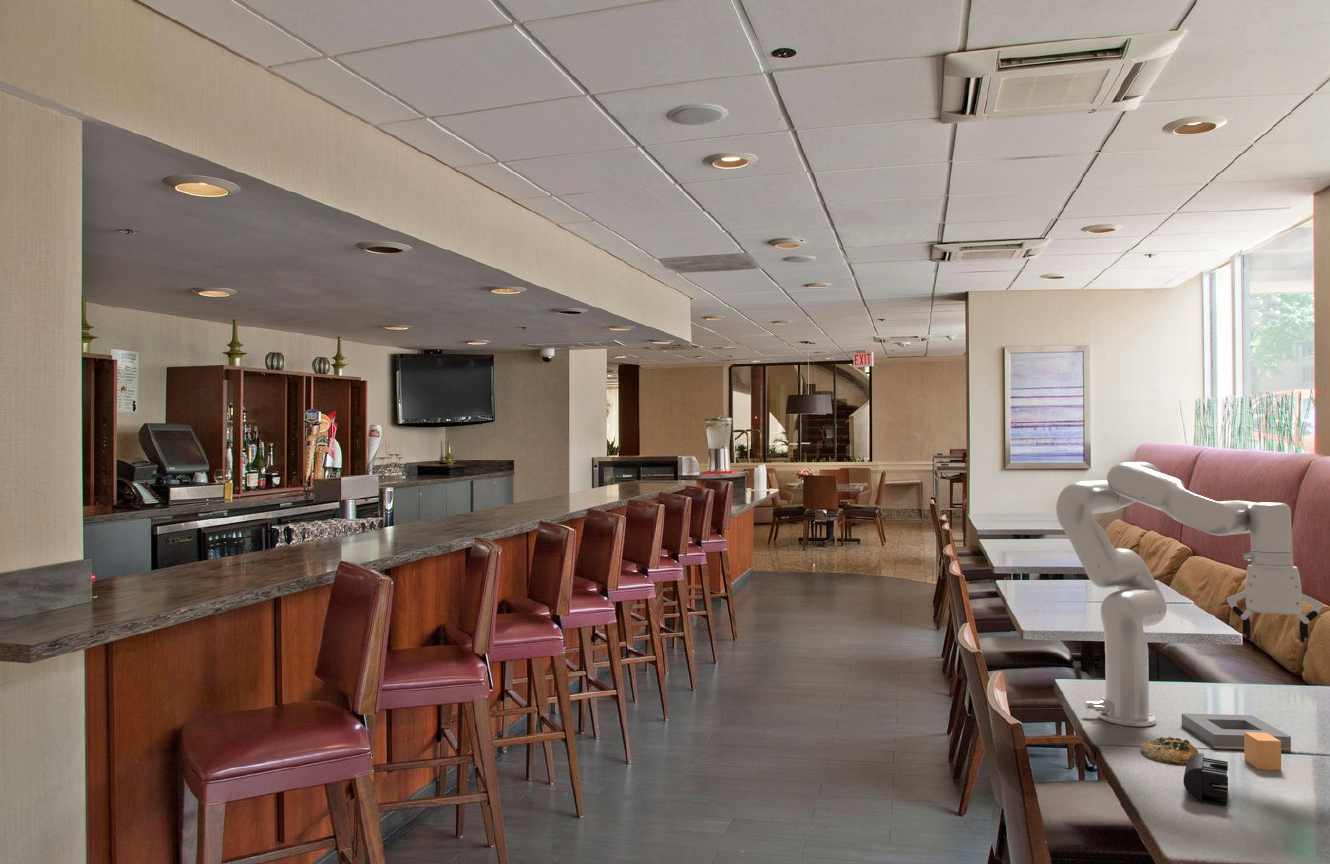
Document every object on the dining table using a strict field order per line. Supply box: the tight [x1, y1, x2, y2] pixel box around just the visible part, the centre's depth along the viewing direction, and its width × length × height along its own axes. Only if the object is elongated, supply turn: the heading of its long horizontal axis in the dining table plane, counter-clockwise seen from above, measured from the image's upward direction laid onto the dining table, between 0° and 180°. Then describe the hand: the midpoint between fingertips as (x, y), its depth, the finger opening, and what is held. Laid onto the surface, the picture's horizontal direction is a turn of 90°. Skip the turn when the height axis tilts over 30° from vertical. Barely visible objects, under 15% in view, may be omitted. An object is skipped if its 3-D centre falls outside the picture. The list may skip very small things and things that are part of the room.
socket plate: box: [1181, 713, 1292, 751], centre depth 212 cm, size 16×16×3 cm
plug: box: [1243, 732, 1282, 771], centre depth 194 cm, size 4×6×6 cm
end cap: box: [1183, 752, 1229, 808], centre depth 177 cm, size 10×7×7 cm
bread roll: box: [1140, 736, 1200, 765], centre depth 199 cm, size 11×11×5 cm
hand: (1275, 639), depth 198 cm, fingers open, 9 cm apart
